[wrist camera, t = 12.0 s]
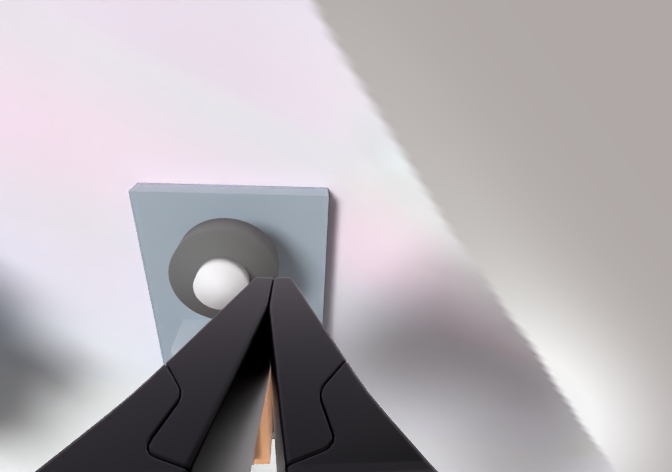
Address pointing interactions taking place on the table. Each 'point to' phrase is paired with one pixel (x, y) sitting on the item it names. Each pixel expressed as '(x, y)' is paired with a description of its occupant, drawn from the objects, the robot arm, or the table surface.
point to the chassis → (237, 203)
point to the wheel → (220, 263)
